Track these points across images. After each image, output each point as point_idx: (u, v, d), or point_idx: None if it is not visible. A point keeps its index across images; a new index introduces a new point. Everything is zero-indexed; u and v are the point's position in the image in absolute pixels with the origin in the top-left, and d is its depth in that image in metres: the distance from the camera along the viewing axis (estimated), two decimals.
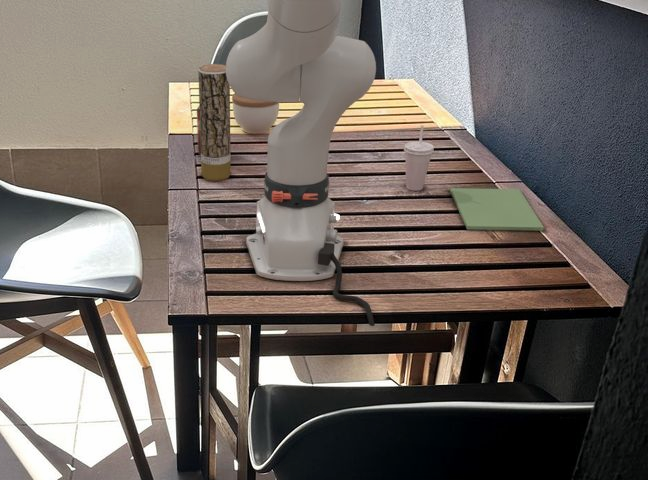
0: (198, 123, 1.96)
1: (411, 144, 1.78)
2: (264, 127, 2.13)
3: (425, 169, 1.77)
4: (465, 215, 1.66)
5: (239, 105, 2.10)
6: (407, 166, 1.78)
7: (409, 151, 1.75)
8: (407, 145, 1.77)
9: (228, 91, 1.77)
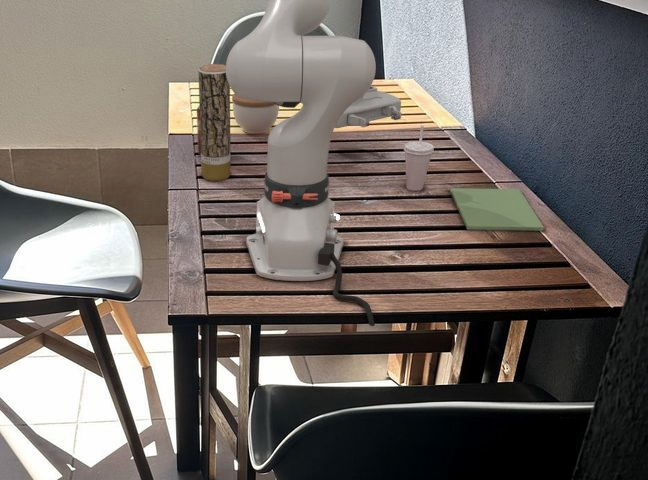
0: (198, 123, 1.96)
1: (411, 144, 1.78)
2: (264, 127, 2.13)
3: (425, 169, 1.77)
4: (465, 215, 1.66)
5: (239, 105, 2.10)
6: (407, 166, 1.78)
7: (409, 151, 1.75)
8: (407, 145, 1.77)
9: (228, 91, 1.77)
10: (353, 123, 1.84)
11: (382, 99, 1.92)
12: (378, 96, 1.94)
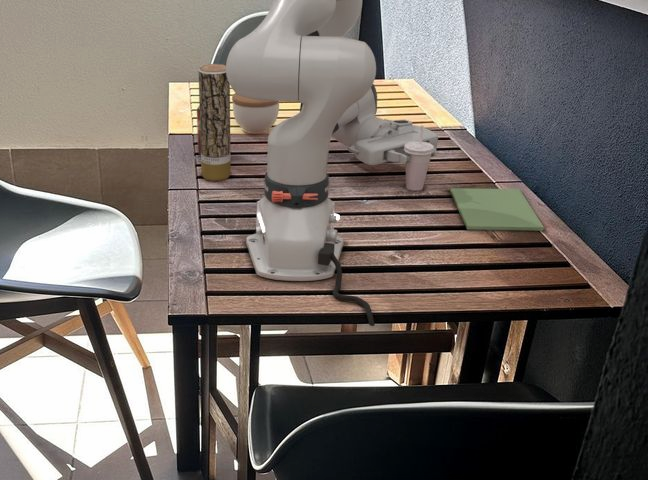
0: (198, 123, 1.96)
1: (411, 144, 1.78)
2: (264, 127, 2.13)
3: (425, 169, 1.77)
4: (465, 215, 1.66)
5: (239, 105, 2.10)
6: (407, 166, 1.78)
7: (409, 151, 1.75)
8: (406, 145, 1.77)
9: (228, 91, 1.77)
10: (393, 159, 1.77)
11: (418, 134, 1.84)
12: (414, 131, 1.87)
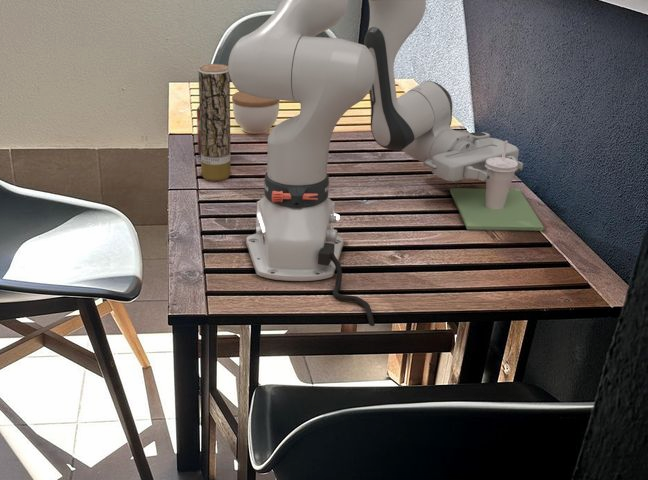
0: (198, 123, 1.96)
1: (493, 160, 1.66)
2: (264, 127, 2.13)
3: (508, 187, 1.66)
4: (465, 215, 1.66)
5: (239, 105, 2.10)
6: (488, 184, 1.66)
7: (492, 168, 1.64)
8: (488, 161, 1.66)
9: (228, 91, 1.77)
10: (471, 176, 1.65)
11: (498, 147, 1.73)
12: (492, 144, 1.75)
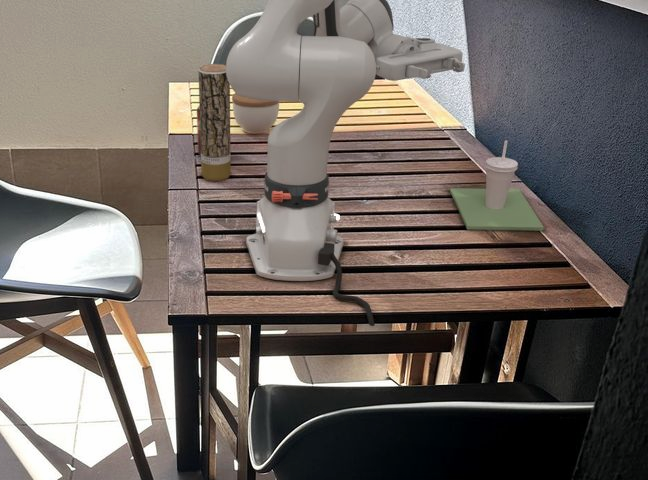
0: (198, 123, 1.96)
1: (493, 160, 1.66)
2: (264, 127, 2.13)
3: (508, 187, 1.66)
4: (465, 215, 1.66)
5: (239, 105, 2.10)
6: (488, 184, 1.66)
7: (492, 168, 1.64)
8: (488, 161, 1.66)
9: (228, 91, 1.77)
10: (413, 75, 1.67)
11: (442, 51, 1.75)
12: (436, 48, 1.77)
